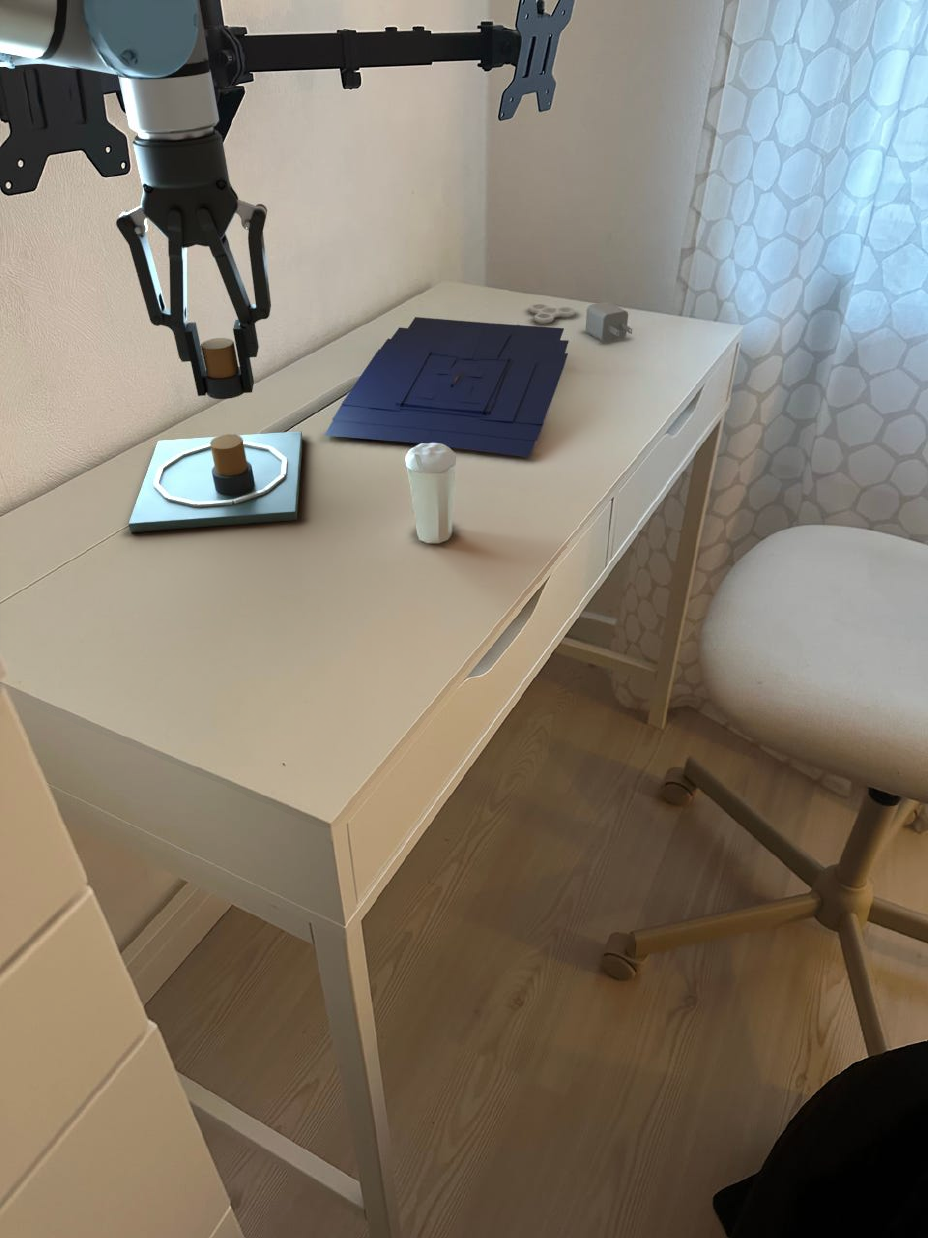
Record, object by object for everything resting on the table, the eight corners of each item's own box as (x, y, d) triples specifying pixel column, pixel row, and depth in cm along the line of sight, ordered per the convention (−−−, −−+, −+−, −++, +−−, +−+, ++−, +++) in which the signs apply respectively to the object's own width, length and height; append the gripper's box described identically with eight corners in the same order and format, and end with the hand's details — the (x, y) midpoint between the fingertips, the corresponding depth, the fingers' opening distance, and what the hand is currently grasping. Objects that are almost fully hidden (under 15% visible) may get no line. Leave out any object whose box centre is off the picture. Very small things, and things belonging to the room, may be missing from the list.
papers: (577, 348, 119) (578, 322, 116) (531, 478, 98) (531, 450, 96) (403, 334, 124) (401, 309, 121) (325, 455, 103) (320, 428, 101)
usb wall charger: (609, 328, 128) (611, 300, 126) (636, 344, 123) (639, 315, 121) (585, 333, 127) (587, 305, 124) (611, 349, 122) (614, 320, 119)
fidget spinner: (577, 312, 133) (577, 307, 133) (563, 326, 129) (563, 321, 128) (533, 307, 136) (533, 301, 135) (518, 320, 131) (518, 315, 131)
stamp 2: (213, 497, 90) (203, 451, 87) (217, 478, 93) (208, 433, 90) (253, 494, 90) (245, 449, 87) (256, 475, 93) (248, 431, 90)
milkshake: (399, 547, 84) (392, 450, 77) (421, 519, 87) (415, 424, 81) (445, 556, 82) (441, 458, 76) (464, 526, 86) (462, 431, 80)
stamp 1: (204, 400, 90) (194, 352, 87) (209, 384, 93) (199, 337, 90) (244, 397, 90) (235, 349, 87) (248, 382, 93) (239, 334, 90)
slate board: (130, 532, 87) (127, 521, 86) (159, 448, 101) (157, 437, 100) (296, 520, 88) (295, 508, 87) (302, 438, 102) (301, 428, 101)
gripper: (278, 119, 80) (311, 369, 95) (84, 127, 79) (147, 379, 93) (273, 134, 75) (309, 398, 89) (64, 143, 73) (134, 409, 88)
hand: (226, 388), depth 91 cm, fingers closed on stamp 1, 4 cm apart
